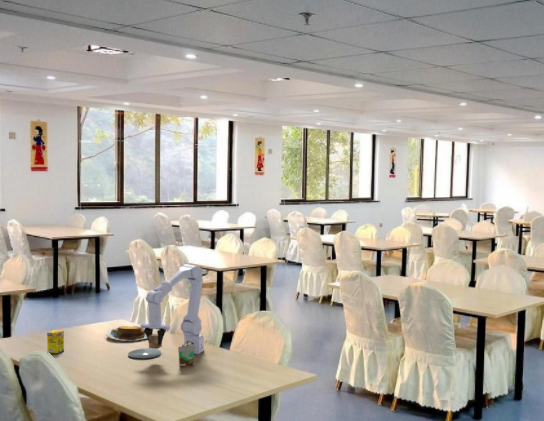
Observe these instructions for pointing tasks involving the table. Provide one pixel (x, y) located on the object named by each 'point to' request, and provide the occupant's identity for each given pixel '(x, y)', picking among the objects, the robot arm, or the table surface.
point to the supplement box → (55, 342)
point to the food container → (186, 354)
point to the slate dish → (144, 353)
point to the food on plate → (127, 333)
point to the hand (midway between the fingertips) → (155, 343)
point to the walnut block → (154, 341)
